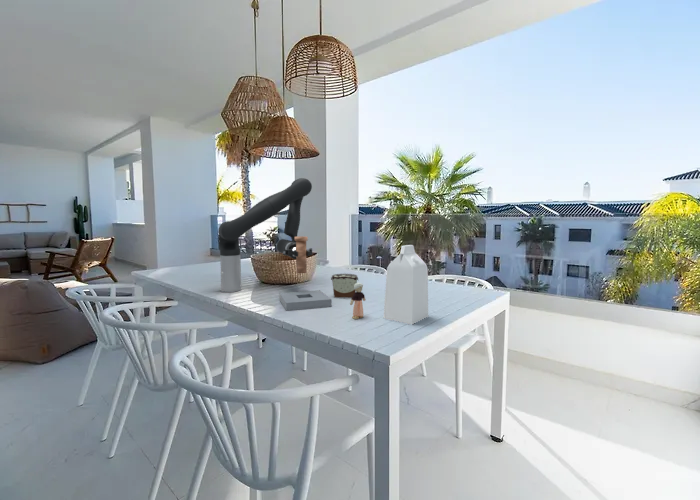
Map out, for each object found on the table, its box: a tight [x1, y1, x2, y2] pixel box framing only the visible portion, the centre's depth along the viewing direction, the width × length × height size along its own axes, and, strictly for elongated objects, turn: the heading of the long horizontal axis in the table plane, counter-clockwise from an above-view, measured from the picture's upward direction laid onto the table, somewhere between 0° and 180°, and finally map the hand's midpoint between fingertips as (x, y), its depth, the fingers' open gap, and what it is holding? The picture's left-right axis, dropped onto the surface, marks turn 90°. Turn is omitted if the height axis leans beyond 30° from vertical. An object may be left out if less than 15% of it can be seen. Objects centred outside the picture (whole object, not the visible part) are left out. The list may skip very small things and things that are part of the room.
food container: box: [330, 273, 359, 299], centre depth 158 cm, size 12×6×10 cm, turn 84°
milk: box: [383, 244, 429, 325], centre depth 125 cm, size 12×12×26 cm
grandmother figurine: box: [349, 281, 366, 320], centre depth 126 cm, size 8×4×13 cm, turn 148°
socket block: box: [278, 289, 333, 311], centre depth 146 cm, size 18×18×3 cm
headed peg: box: [295, 235, 309, 274], centre depth 153 cm, size 6×6×16 cm
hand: (302, 253), depth 150 cm, fingers closed on headed peg, 4 cm apart
